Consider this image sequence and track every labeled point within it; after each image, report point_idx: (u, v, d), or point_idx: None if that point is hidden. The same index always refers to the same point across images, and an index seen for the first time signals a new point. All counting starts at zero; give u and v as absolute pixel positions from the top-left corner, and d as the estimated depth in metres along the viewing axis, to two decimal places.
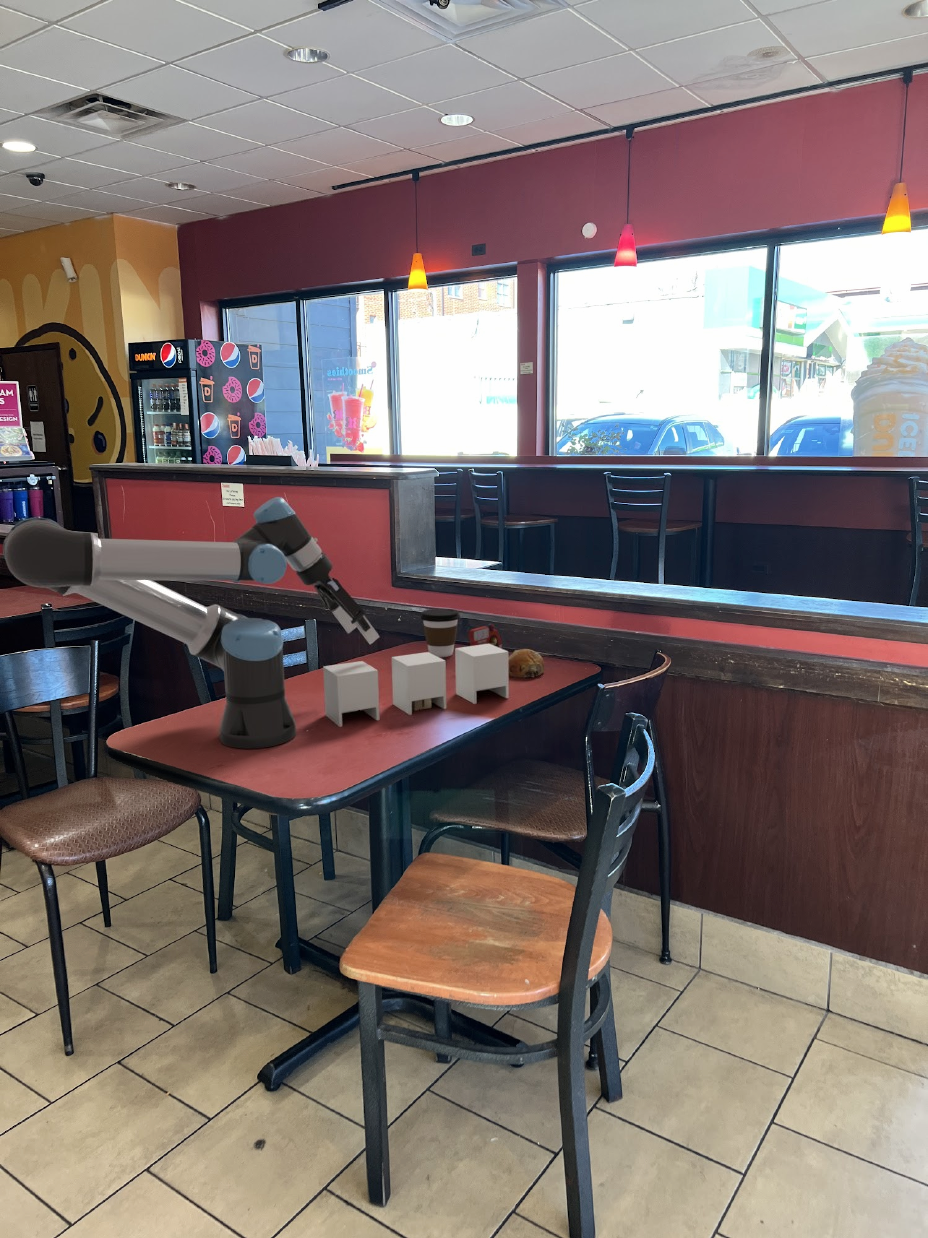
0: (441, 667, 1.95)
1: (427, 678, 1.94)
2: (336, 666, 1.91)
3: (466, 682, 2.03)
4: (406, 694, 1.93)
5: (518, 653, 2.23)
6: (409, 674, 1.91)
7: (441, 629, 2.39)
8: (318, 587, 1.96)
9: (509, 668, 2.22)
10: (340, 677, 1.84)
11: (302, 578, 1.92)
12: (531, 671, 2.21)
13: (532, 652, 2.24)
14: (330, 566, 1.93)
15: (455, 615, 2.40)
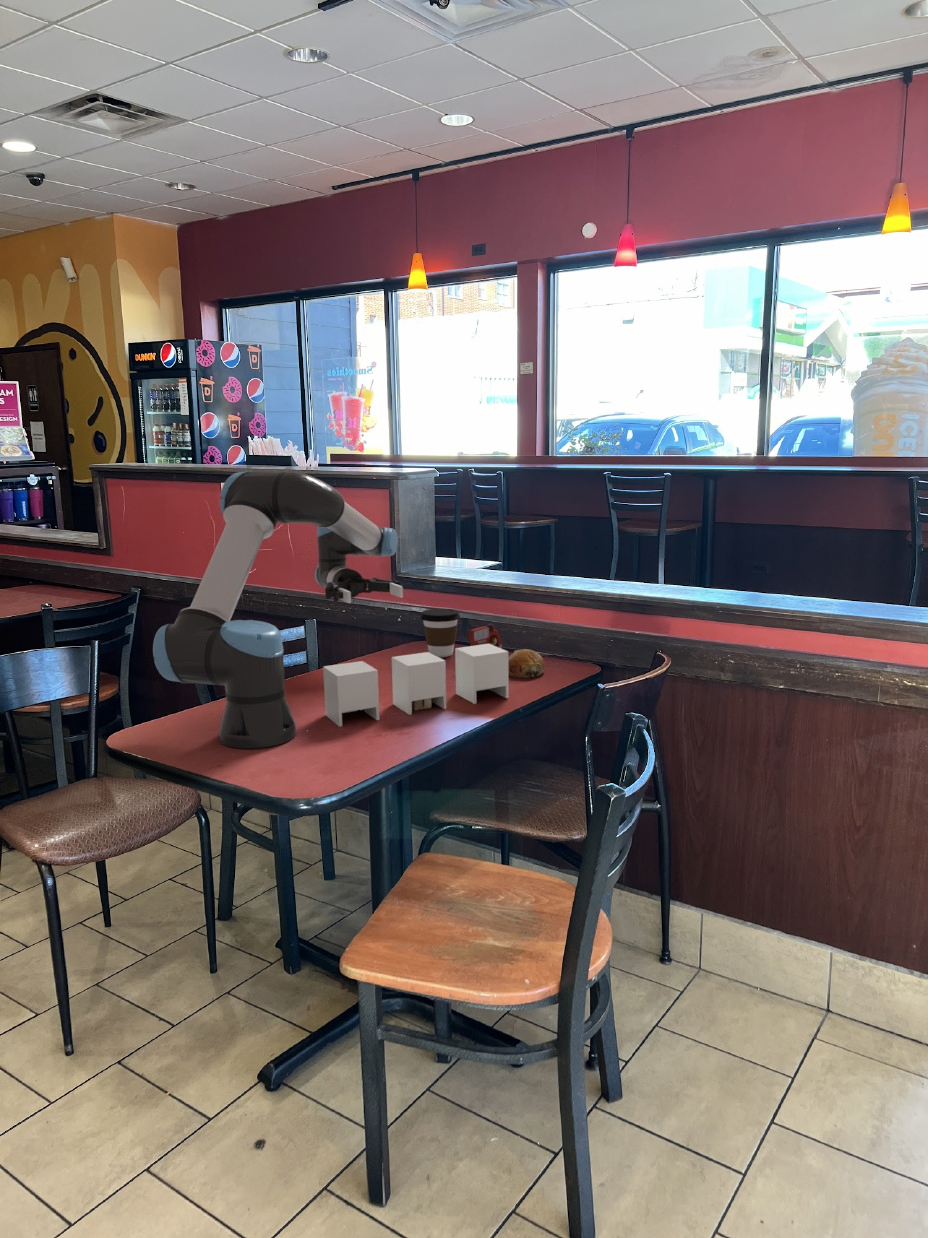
0: (441, 667, 1.95)
1: (427, 678, 1.94)
2: (336, 666, 1.91)
3: (466, 682, 2.03)
4: (406, 694, 1.93)
5: (518, 653, 2.23)
6: (409, 674, 1.91)
7: (441, 629, 2.39)
8: None
9: (509, 668, 2.22)
10: (340, 677, 1.84)
11: (351, 569, 2.32)
12: (531, 671, 2.21)
13: (532, 652, 2.24)
14: None
15: (455, 615, 2.40)
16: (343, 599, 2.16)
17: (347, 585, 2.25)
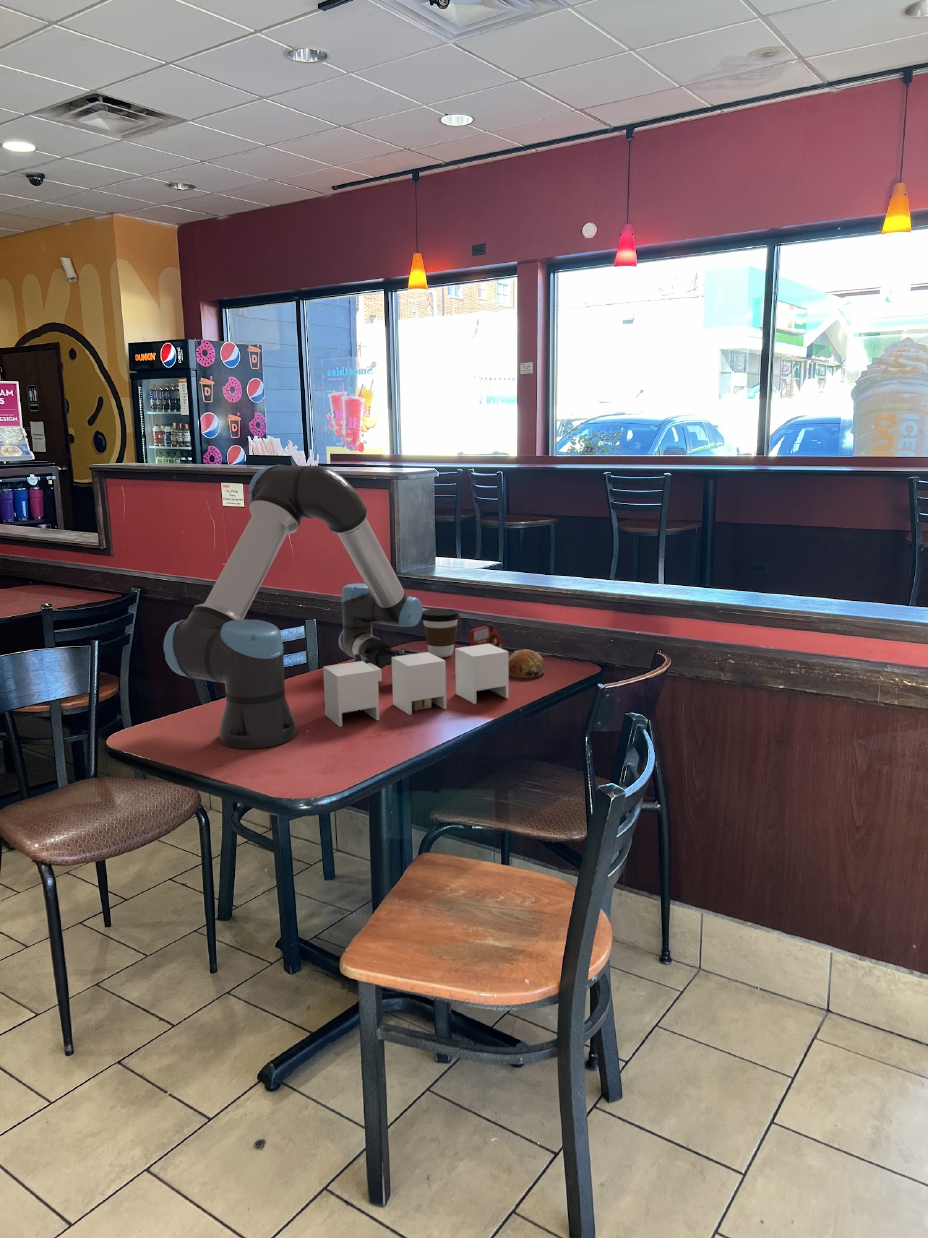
0: (441, 667, 1.95)
1: (427, 678, 1.94)
2: (336, 666, 1.91)
3: (466, 682, 2.03)
4: (406, 694, 1.93)
5: (518, 653, 2.22)
6: (409, 674, 1.91)
7: (441, 629, 2.39)
8: None
9: (509, 668, 2.22)
10: (340, 677, 1.84)
11: (378, 638, 2.21)
12: (531, 671, 2.21)
13: (532, 652, 2.24)
14: None
15: (455, 615, 2.40)
16: None
17: (375, 658, 2.13)
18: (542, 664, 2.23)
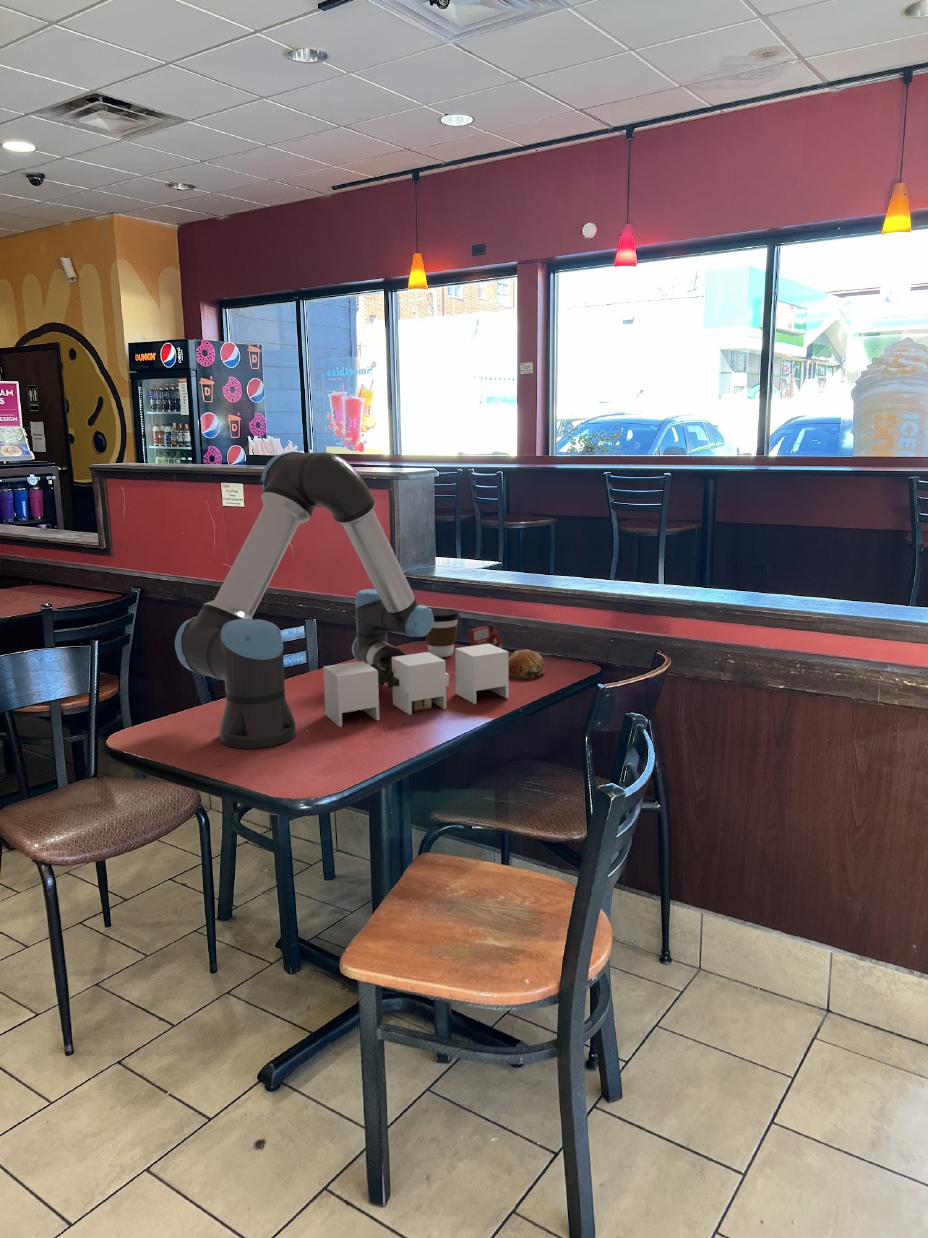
0: (441, 667, 1.95)
1: (427, 678, 1.94)
2: (336, 666, 1.91)
3: (466, 682, 2.03)
4: (406, 694, 1.93)
5: (518, 653, 2.22)
6: (409, 674, 1.91)
7: (441, 629, 2.39)
8: None
9: (509, 669, 2.22)
10: (340, 677, 1.84)
11: (393, 647, 2.12)
12: (531, 672, 2.20)
13: (532, 653, 2.23)
14: None
15: (455, 615, 2.40)
16: (399, 687, 1.94)
17: (391, 667, 2.04)
18: (542, 664, 2.22)
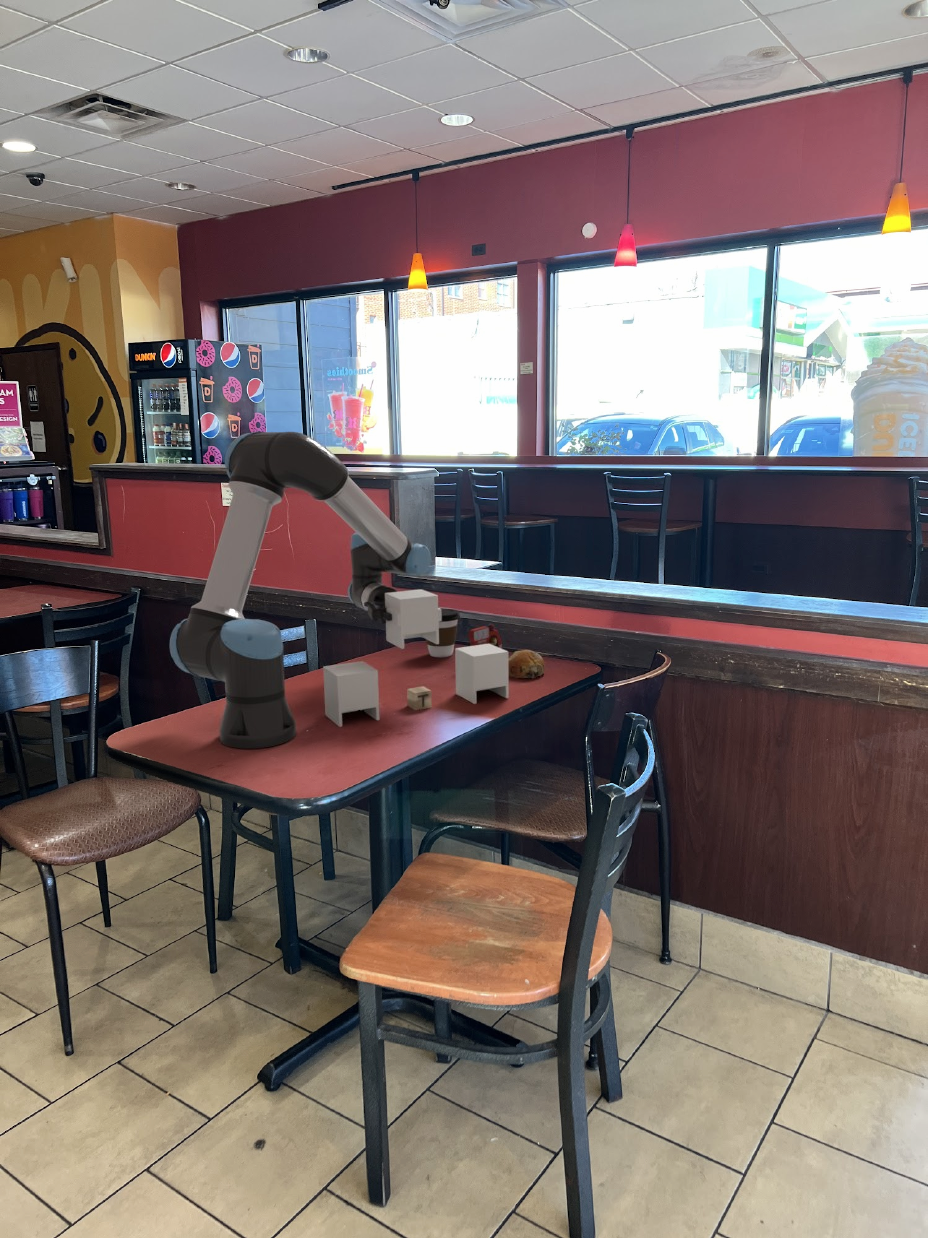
0: (434, 602, 1.96)
1: (419, 612, 1.94)
2: (336, 666, 1.91)
3: (466, 682, 2.03)
4: (398, 628, 1.94)
5: (519, 654, 2.22)
6: (401, 607, 1.92)
7: (441, 629, 2.39)
8: None
9: (509, 669, 2.21)
10: (340, 677, 1.84)
11: None
12: (531, 672, 2.20)
13: (532, 653, 2.23)
14: None
15: (455, 615, 2.40)
16: (392, 621, 1.95)
17: None
18: (542, 665, 2.22)
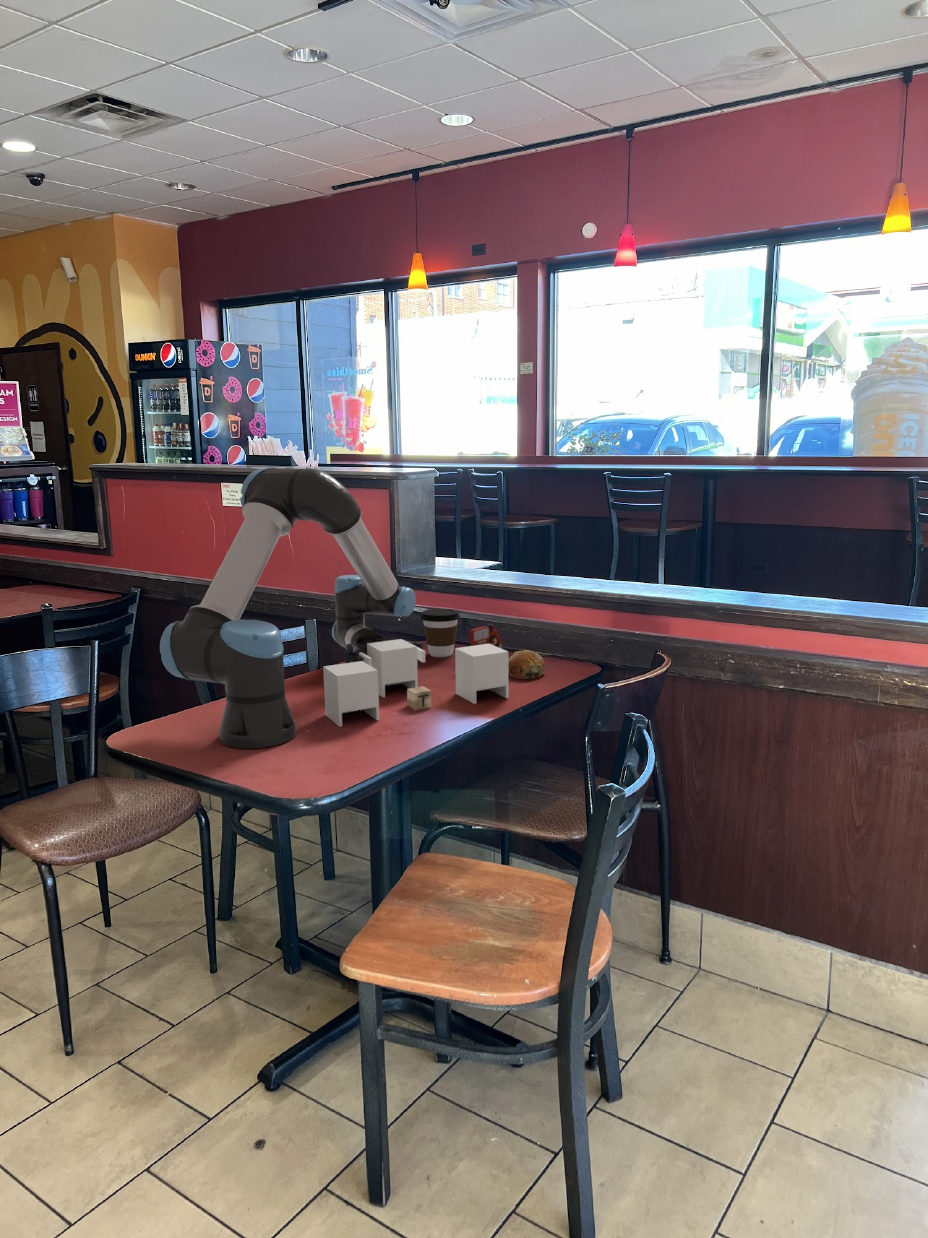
0: (413, 652, 2.08)
1: (399, 663, 2.07)
2: (336, 666, 1.91)
3: (466, 682, 2.03)
4: (380, 677, 2.06)
5: (519, 654, 2.22)
6: (382, 659, 2.04)
7: (441, 629, 2.39)
8: None
9: (509, 669, 2.21)
10: (340, 677, 1.84)
11: (370, 629, 2.24)
12: (532, 672, 2.20)
13: (533, 653, 2.23)
14: None
15: (455, 615, 2.40)
16: None
17: None
18: (542, 665, 2.22)
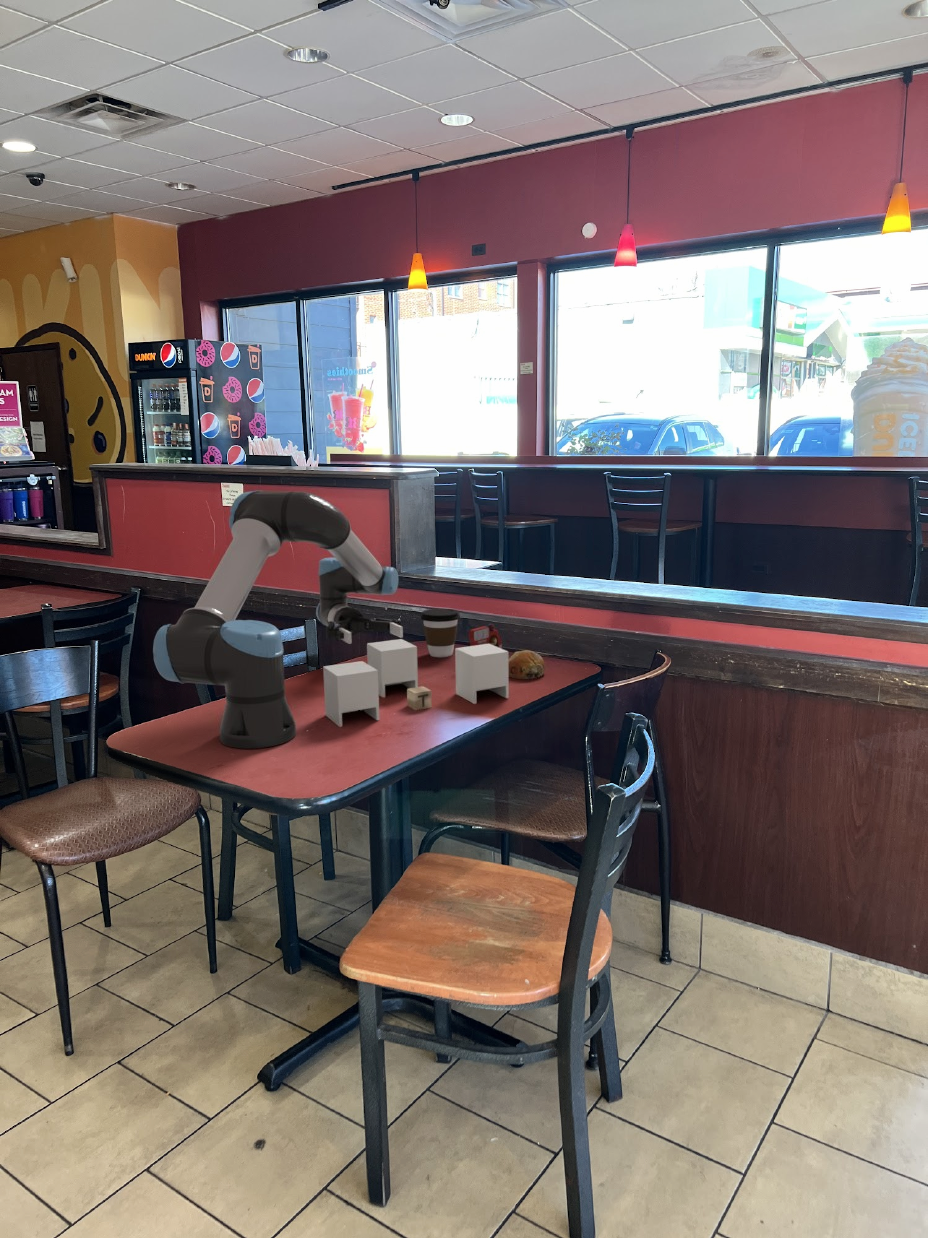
0: (413, 652, 2.08)
1: (399, 663, 2.07)
2: (336, 666, 1.91)
3: (466, 682, 2.03)
4: (380, 677, 2.06)
5: (519, 654, 2.22)
6: (382, 659, 2.04)
7: (441, 629, 2.39)
8: None
9: (510, 669, 2.21)
10: (340, 677, 1.84)
11: (351, 608, 2.36)
12: (532, 672, 2.20)
13: (533, 653, 2.23)
14: None
15: (455, 615, 2.40)
16: (344, 639, 2.18)
17: (348, 624, 2.28)
18: (543, 665, 2.22)
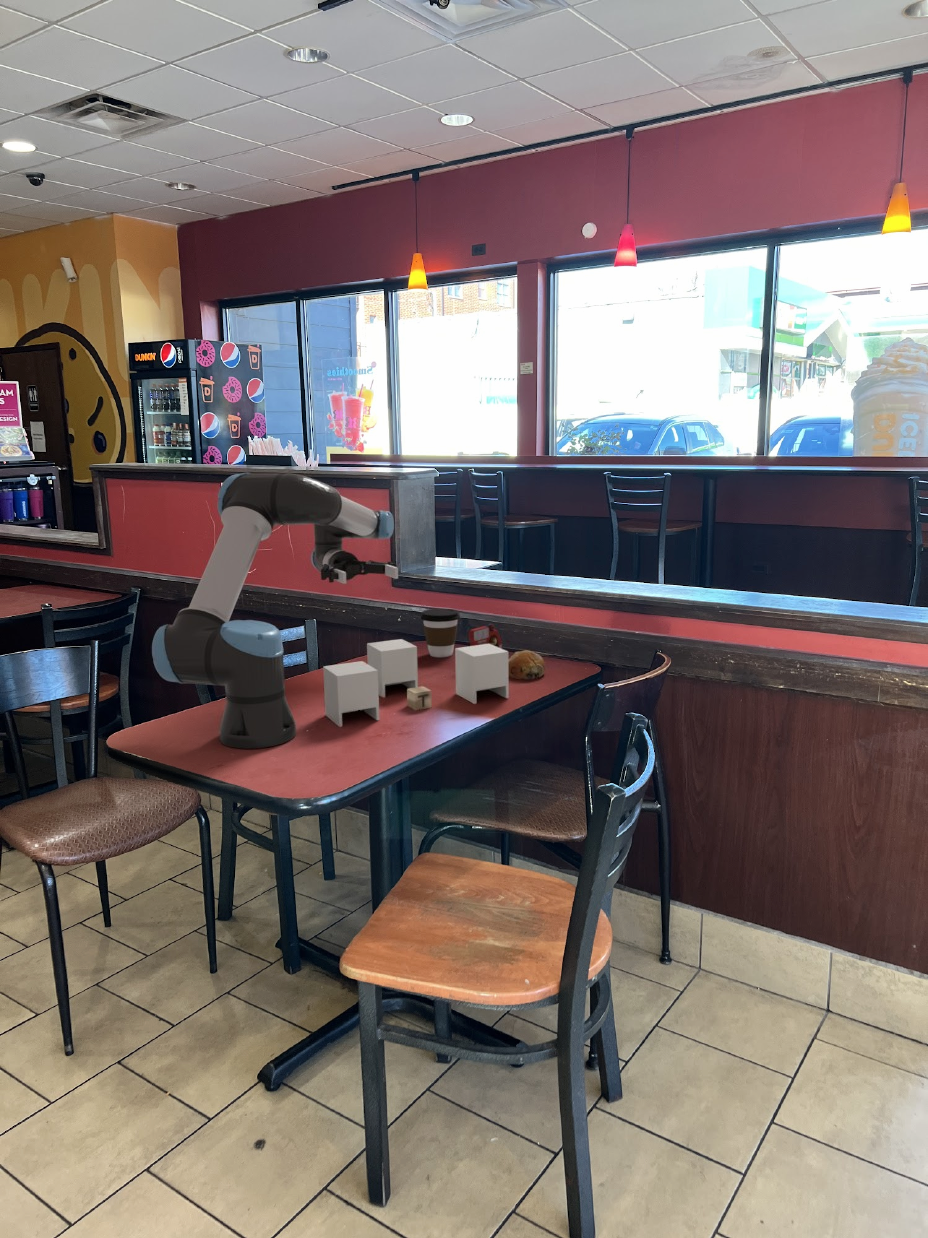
0: (413, 652, 2.08)
1: (399, 663, 2.07)
2: (336, 666, 1.91)
3: (466, 682, 2.03)
4: (380, 677, 2.06)
5: (519, 654, 2.21)
6: (382, 659, 2.04)
7: (441, 629, 2.39)
8: None
9: (510, 670, 2.21)
10: (340, 677, 1.84)
11: None
12: (532, 673, 2.19)
13: (533, 653, 2.23)
14: None
15: (455, 615, 2.40)
16: (338, 580, 2.17)
17: (343, 567, 2.26)
18: (543, 665, 2.22)
